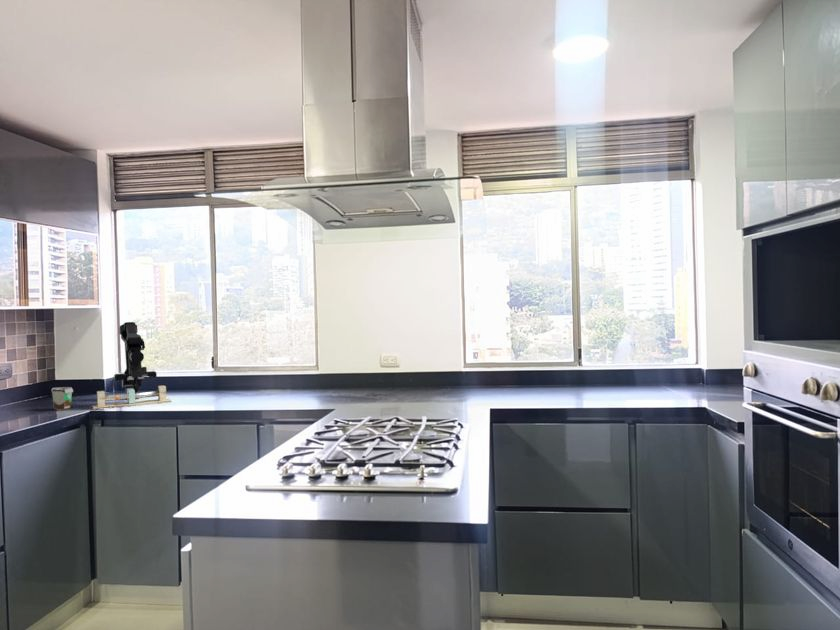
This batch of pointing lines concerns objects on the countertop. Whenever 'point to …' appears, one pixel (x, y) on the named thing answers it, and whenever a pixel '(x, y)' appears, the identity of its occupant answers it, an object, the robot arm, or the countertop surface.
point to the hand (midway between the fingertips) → (136, 392)
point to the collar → (131, 395)
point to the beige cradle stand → (160, 399)
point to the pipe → (126, 396)
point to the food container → (62, 398)
